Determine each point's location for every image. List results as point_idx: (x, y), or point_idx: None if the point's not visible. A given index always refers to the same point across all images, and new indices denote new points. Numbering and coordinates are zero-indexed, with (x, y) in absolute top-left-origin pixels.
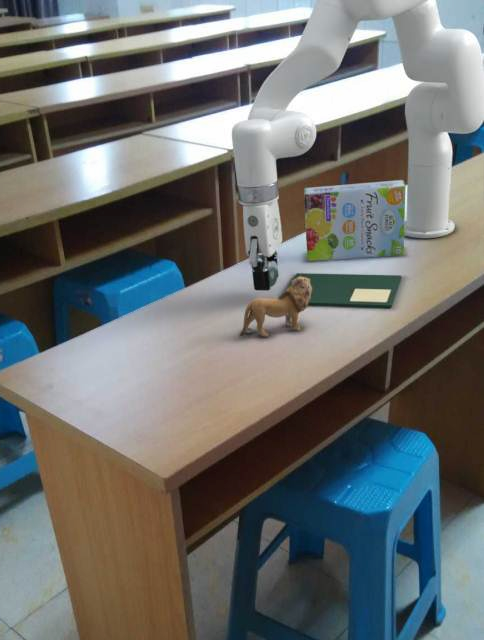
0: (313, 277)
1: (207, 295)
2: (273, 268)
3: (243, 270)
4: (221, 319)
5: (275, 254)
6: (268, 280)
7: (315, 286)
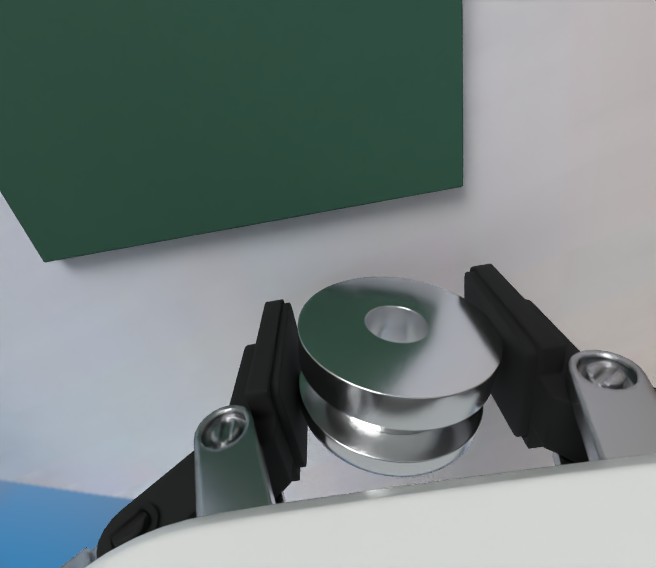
0: (35, 127)
1: (402, 479)
2: (375, 344)
3: (138, 473)
4: (637, 355)
5: (246, 434)
6: (519, 298)
7: (165, 34)
